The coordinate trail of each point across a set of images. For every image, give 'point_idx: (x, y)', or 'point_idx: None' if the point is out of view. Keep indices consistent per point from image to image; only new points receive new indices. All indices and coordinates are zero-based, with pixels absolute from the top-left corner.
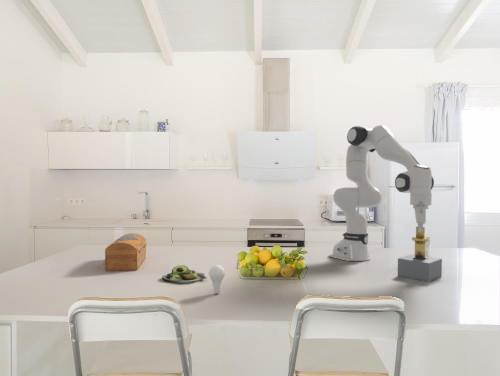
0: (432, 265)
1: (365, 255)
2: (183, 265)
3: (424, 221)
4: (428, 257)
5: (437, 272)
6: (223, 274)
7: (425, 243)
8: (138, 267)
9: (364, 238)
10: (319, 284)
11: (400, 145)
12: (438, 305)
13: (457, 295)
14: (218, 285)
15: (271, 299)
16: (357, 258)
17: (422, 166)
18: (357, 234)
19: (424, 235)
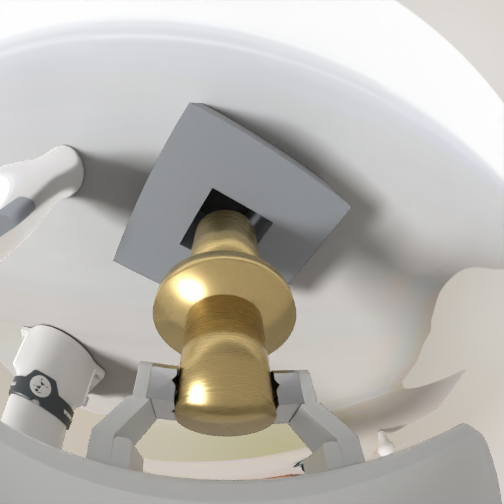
0: (313, 177)
1: (65, 350)
2: (304, 471)
3: (480, 435)
4: (173, 180)
5: (247, 130)
6: (391, 444)
7: (11, 208)
8: (282, 476)
9: (48, 395)
10: (353, 392)
11: None
12: (493, 216)
13: (453, 141)
14: (386, 436)
15: (410, 400)
16: (87, 360)
17: None
18: (62, 420)
19: (239, 318)
